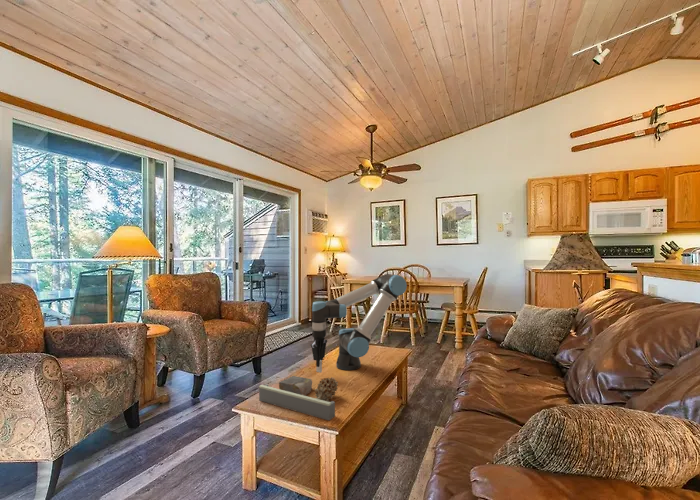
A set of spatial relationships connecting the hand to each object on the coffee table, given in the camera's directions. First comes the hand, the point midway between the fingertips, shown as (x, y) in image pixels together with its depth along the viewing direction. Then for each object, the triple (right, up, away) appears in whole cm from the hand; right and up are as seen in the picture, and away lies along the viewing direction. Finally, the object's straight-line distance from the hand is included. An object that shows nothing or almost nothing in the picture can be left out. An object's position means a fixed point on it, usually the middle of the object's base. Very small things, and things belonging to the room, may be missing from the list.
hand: (319, 371), depth 183 cm
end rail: (-7, -3, -36) cm, 37 cm away
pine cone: (+4, -3, -31) cm, 32 cm away
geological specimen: (-10, -4, -16) cm, 20 cm away
